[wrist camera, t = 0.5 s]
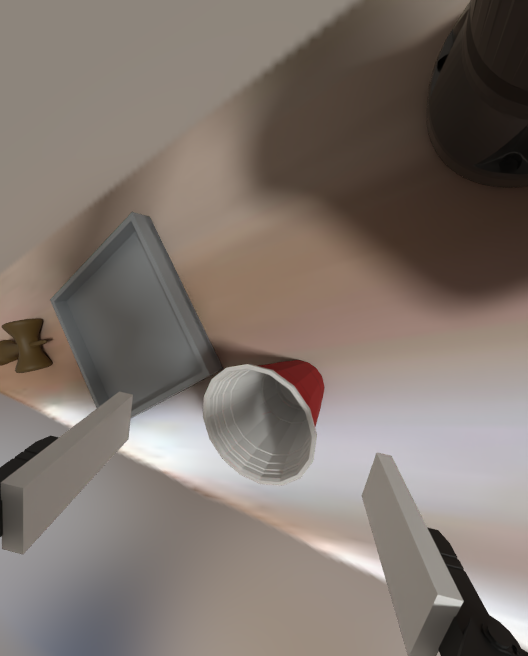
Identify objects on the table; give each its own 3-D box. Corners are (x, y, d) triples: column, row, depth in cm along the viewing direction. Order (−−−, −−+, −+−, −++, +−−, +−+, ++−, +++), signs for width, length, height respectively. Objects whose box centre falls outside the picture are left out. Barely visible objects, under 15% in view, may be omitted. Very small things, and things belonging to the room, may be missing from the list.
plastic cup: (249, 402, 39) (187, 447, 28) (273, 326, 36) (215, 343, 25) (326, 446, 35) (289, 517, 24) (361, 364, 32) (336, 403, 21)
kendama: (8, 329, 65) (57, 312, 55) (20, 371, 65) (70, 363, 56) (-28, 333, 59) (19, 316, 50) (-15, 380, 60) (33, 372, 50)
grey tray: (149, 216, 42) (132, 211, 39) (223, 368, 40) (209, 374, 37) (68, 299, 53) (50, 299, 50) (122, 422, 50) (106, 430, 48)
